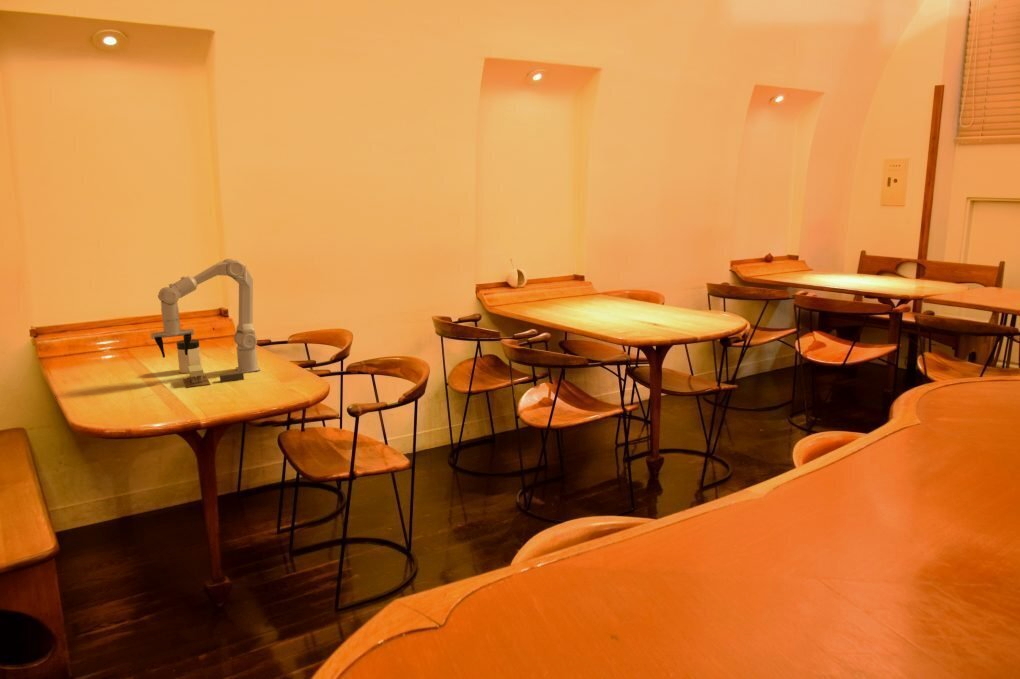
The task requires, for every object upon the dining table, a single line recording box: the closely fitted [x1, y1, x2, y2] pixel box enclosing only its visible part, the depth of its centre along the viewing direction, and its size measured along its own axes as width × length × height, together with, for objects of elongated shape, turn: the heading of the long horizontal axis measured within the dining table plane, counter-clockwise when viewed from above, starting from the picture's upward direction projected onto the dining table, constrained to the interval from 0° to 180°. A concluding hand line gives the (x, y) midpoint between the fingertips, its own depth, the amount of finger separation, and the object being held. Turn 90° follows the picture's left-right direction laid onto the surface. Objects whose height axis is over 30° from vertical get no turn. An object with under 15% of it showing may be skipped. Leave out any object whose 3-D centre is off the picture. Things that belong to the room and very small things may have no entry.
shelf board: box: [187, 364, 205, 378], centre depth 274 cm, size 10×4×2 cm, turn 29°
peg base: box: [182, 375, 211, 389], centre depth 274 cm, size 14×8×3 cm, turn 29°
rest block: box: [219, 371, 245, 383], centre depth 276 cm, size 3×8×2 cm, turn 119°
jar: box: [176, 338, 203, 374], centre depth 291 cm, size 9×8×12 cm
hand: (175, 355), depth 274 cm, fingers open, 7 cm apart
